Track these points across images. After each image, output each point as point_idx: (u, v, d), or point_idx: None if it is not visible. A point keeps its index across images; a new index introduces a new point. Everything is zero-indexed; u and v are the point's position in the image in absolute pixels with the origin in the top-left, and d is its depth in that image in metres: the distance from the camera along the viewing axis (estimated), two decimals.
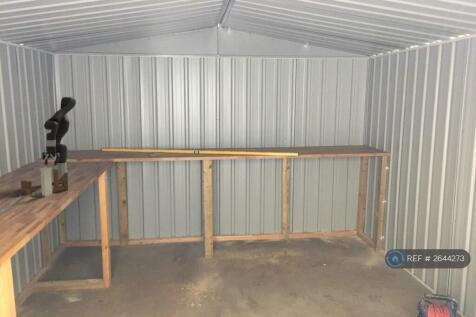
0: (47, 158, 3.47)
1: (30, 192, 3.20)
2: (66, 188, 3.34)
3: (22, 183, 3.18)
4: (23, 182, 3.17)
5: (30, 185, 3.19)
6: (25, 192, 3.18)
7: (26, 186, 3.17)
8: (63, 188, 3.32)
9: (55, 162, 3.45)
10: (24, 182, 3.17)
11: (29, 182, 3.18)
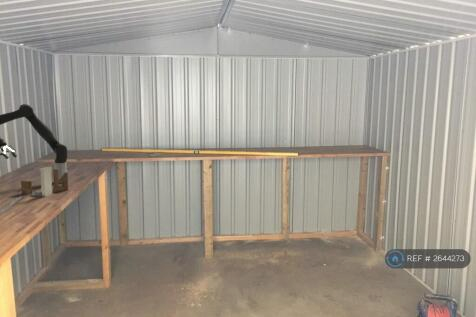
0: (11, 151, 3.22)
1: (30, 192, 3.20)
2: (66, 188, 3.34)
3: (22, 183, 3.18)
4: (23, 182, 3.17)
5: (30, 185, 3.19)
6: (25, 192, 3.18)
7: (26, 186, 3.17)
8: (63, 188, 3.32)
9: None
10: (24, 182, 3.17)
11: (29, 182, 3.18)
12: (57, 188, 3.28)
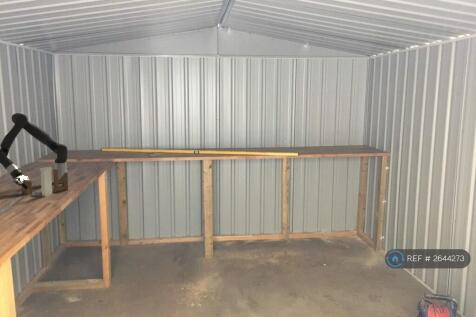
0: None
1: (30, 192, 3.20)
2: (66, 188, 3.34)
3: None
4: None
5: (30, 185, 3.19)
6: (25, 192, 3.18)
7: None
8: (63, 188, 3.32)
9: (23, 186, 3.17)
10: (24, 182, 3.17)
11: (29, 182, 3.18)
12: (57, 188, 3.28)
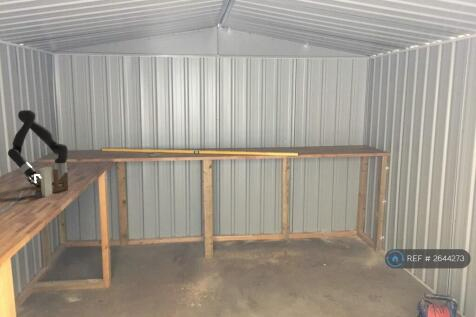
0: None
1: None
2: (66, 188, 3.34)
3: None
4: (37, 182, 3.15)
5: None
6: None
7: (40, 186, 3.15)
8: (63, 188, 3.32)
9: (35, 185, 3.13)
10: (38, 182, 3.15)
11: None
12: (57, 188, 3.28)
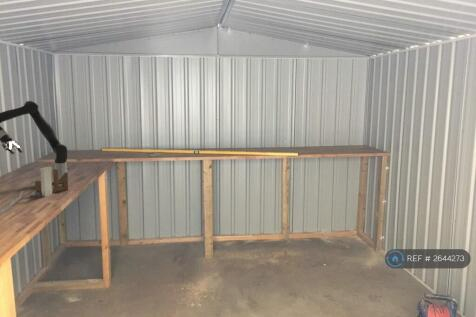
0: (17, 146, 3.24)
1: None
2: (66, 188, 3.34)
3: (36, 183, 3.15)
4: (37, 182, 3.15)
5: None
6: None
7: (40, 186, 3.15)
8: (63, 188, 3.32)
9: (10, 151, 3.16)
10: (38, 182, 3.15)
11: None
12: (57, 188, 3.28)
